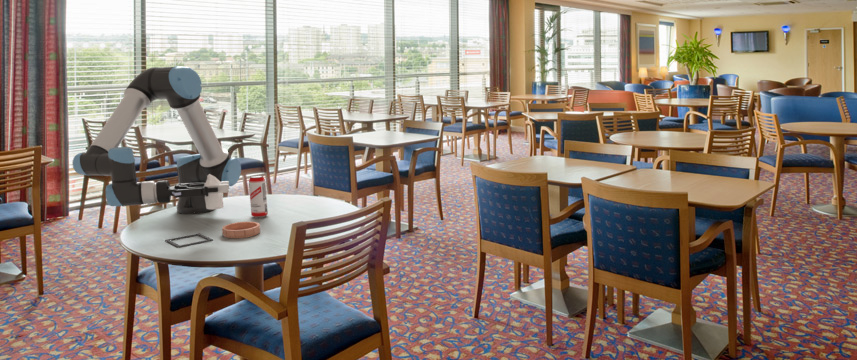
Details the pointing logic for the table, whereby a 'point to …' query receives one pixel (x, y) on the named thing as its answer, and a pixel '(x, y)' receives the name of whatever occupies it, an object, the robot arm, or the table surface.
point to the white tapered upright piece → (213, 199)
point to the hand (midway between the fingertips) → (228, 186)
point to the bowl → (241, 230)
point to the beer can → (258, 196)
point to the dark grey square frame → (189, 243)
